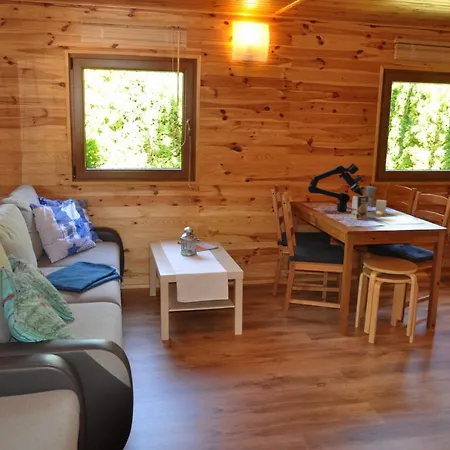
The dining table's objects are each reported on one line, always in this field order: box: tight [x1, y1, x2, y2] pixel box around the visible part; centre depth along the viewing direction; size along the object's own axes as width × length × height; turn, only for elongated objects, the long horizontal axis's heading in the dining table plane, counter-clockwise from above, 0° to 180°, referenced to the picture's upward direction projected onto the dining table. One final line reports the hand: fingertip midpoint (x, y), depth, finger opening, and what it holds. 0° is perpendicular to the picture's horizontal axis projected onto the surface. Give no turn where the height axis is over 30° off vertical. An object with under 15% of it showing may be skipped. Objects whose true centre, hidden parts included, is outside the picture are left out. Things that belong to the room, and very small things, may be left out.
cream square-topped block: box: [374, 199, 387, 214], centre depth 386 cm, size 7×7×10 cm
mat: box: [367, 211, 397, 219], centre depth 382 cm, size 24×20×1 cm
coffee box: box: [350, 194, 368, 221], centre depth 364 cm, size 9×6×16 cm
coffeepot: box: [360, 183, 378, 208], centre depth 421 cm, size 15×9×18 cm, turn 103°
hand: (362, 194), depth 388 cm, fingers open, 9 cm apart
